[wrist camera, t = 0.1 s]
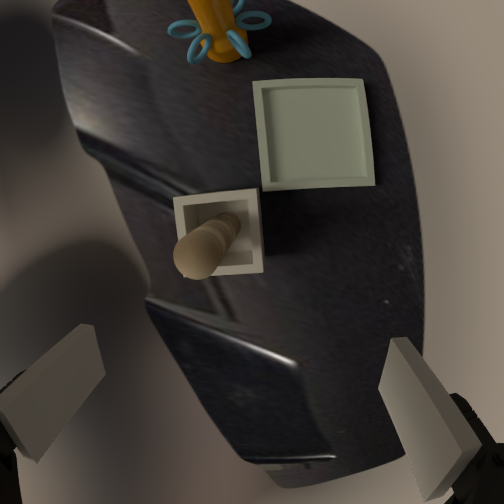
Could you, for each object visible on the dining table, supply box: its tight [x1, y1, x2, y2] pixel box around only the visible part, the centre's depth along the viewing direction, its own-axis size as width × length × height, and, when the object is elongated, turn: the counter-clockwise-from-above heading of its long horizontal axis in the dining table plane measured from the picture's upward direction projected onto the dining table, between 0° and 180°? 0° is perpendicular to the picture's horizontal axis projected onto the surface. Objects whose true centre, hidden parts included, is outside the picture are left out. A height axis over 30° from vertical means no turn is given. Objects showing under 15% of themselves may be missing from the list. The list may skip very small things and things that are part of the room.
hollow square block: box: [173, 187, 265, 277], centre depth 35 cm, size 9×9×7 cm
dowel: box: [173, 212, 241, 279], centre depth 30 cm, size 4×4×16 cm
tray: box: [252, 78, 375, 192], centre depth 34 cm, size 14×14×2 cm
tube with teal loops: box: [168, 0, 272, 64], centre depth 26 cm, size 12×10×15 cm
